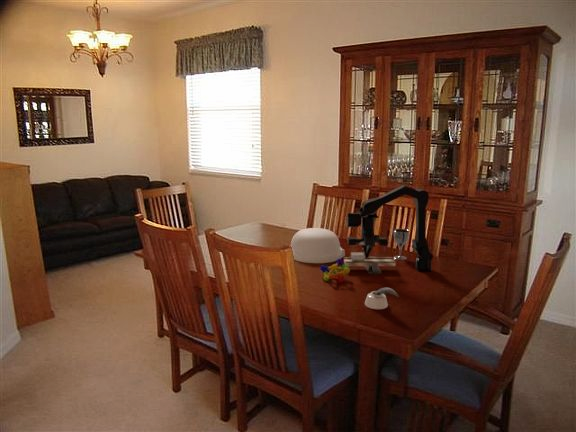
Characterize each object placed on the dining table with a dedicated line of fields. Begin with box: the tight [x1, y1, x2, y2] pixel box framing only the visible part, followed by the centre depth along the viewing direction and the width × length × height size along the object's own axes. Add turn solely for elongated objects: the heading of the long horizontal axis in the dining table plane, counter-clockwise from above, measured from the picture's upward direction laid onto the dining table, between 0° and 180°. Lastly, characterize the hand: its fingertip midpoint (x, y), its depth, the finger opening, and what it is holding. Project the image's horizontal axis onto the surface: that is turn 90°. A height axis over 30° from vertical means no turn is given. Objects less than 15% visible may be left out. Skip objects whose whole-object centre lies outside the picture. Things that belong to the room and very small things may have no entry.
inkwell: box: [364, 287, 400, 310], centre depth 177 cm, size 9×18×10 cm, turn 28°
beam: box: [343, 256, 397, 267], centre depth 222 cm, size 24×7×3 cm, turn 90°
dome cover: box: [290, 227, 346, 264], centre depth 246 cm, size 32×30×14 cm
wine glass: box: [393, 228, 410, 261], centre depth 241 cm, size 8×8×15 cm
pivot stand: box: [364, 255, 382, 275], centre depth 222 cm, size 6×11×6 cm, turn 0°
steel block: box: [350, 251, 365, 261], centre depth 222 cm, size 6×4×4 cm
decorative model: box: [319, 258, 351, 284], centre depth 209 cm, size 13×9×15 cm
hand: (366, 258), depth 222 cm, fingers closed
